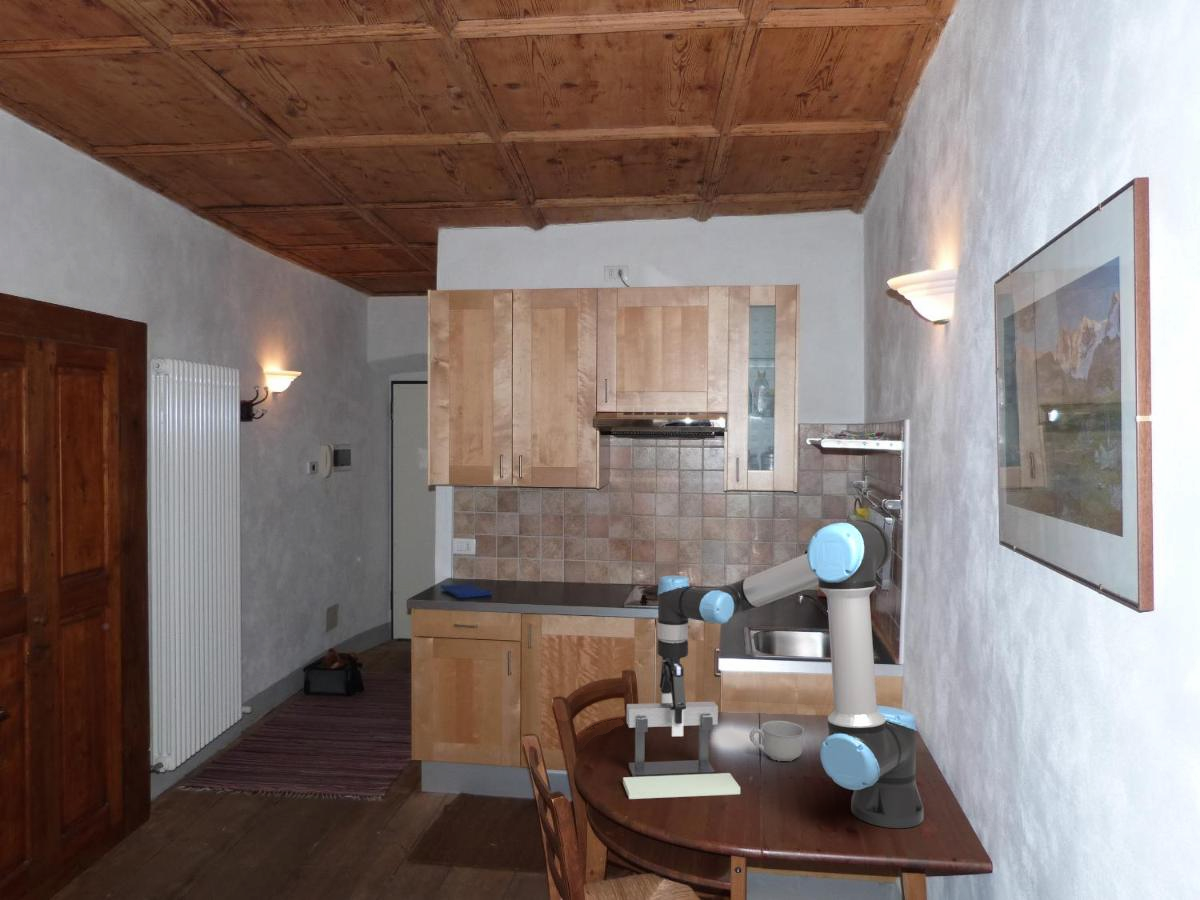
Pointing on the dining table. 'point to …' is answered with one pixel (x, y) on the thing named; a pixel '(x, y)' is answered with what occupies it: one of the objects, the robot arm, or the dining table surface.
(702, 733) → the hook stand
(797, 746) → the teacup
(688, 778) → the board
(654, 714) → the rail bar
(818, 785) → the dining table surface
